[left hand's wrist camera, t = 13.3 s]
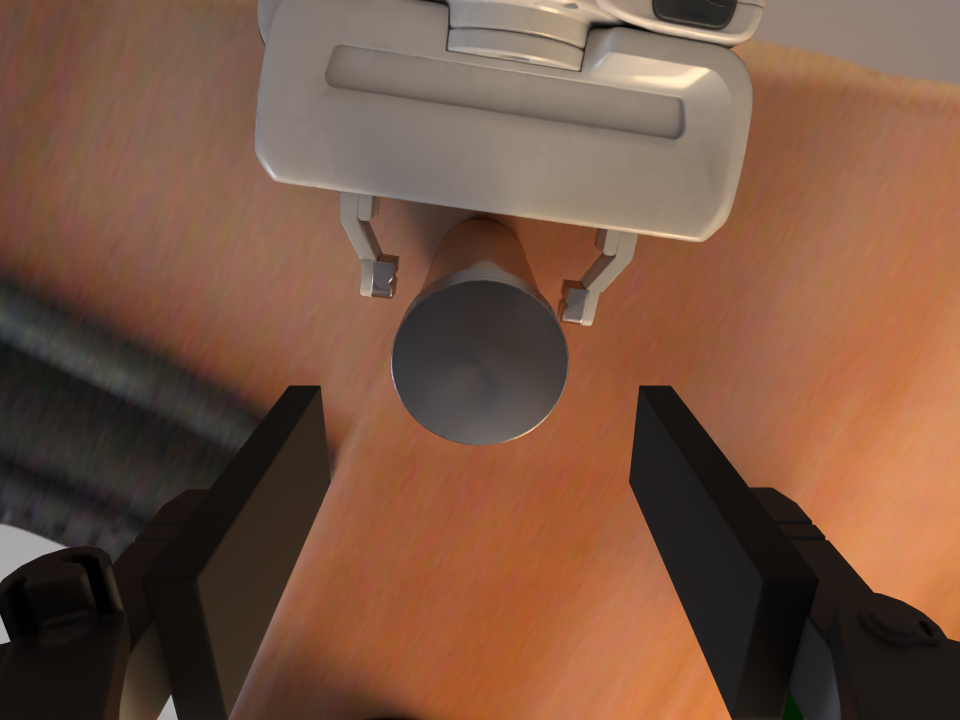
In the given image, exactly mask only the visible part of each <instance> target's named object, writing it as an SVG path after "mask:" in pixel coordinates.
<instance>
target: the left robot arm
mask: <svg viewBox="0 0 960 720" xmlns="http://www.w3.org/2000/svg"><path fill="white" fill-rule="evenodd" d="M330 483H331V478H330V469H329V459H328V450H327V441H326V432H325V423H324V413H323V404H322V395H321V386H289V387H288V388H287V389H286V391H285V392H284V393H283V394H282V396H281V397H280V398H279V400H278V401H277V402H276V404H275V405H274V406H273V407H272V409H271V410H270V411H269V413H268V414H267V415H266V417H265V418H264V419H263V420H262V422H261V423H260V424H259V426H258V427H257V428H256V429H255V431H254V432H253V433H252V435H251V436H250V437H249V439H248V440H247V441H246V442H245V444H244V445H243V446H242V448H241V449H240V450H239V452H238V453H237V454H236V455H235V457H234V458H233V459H232V461H231V462H230V463H229V465H228V466H227V467H226V468H225V470H224V471H223V472H222V474H221V475H220V476H219V478H218V479H217V480H216V481H215V483H214V484H213V485H212V487H211V488H210V489H188V490H186V491H185V492H183V493H182V494H180V495H179V496H177V497H176V498H174V499H173V500H171V501H169V502H168V503H166V504H165V505H164V506H163V507H162V508H161V509H160V510H159V511H158V513H157V514H156V515H155V516H154V517H153V518H152V520H151V521H150V522H149V523H148V527H145V528H144V529H143V530H142V531H141V532H140V534H139V535H138V536H137V537H136V538H135V542H132V543H131V544H130V545H129V546H128V548H127V549H126V550H125V551H124V552H123V553H122V554H121V556H120V557H119V558H118V559H117V560H116V561H115V563H114V564H113V565H112V562H111V559H110V555H109V554H107V553H106V552H105V551H103V550H102V549H100V548H94V547H87V546H82V547H74V548H66V549H62V550H59V551H56V552H52V553H49V554H46V555H43V556H40V557H38V558H37V559H34V560H32V561H30V562H28V563H26V564H24V565H22V566H21V567H19V568H18V569H16V570H15V571H14V572H12V573H11V574H10V575H8V576H7V577H6V578H4V579H3V580H2V581H1V583H0V615H1V618H2V620H3V623H4V626H5V628H6V631H7V633H8V636H9V639H10V641H11V642H8V643H4V644H0V720H157V718H158V717H159V715H160V713H161V711H162V710H163V708H164V706H165V704H166V702H167V701H168V699H169V697H170V695H172V699H173V703H174V706H175V710H176V714H177V718H178V720H228V719H229V716H230V714H231V712H232V709H233V707H234V705H235V702H236V700H237V698H238V696H239V693H240V691H241V689H242V686H243V684H244V682H245V679H246V677H247V675H248V672H249V670H250V668H251V666H252V663H253V661H254V659H255V656H256V654H257V652H258V649H259V647H260V645H261V642H262V640H263V638H264V636H265V633H266V631H267V629H268V626H269V624H270V622H271V619H272V617H273V615H274V612H275V610H276V608H277V605H278V603H279V601H280V599H281V596H282V594H283V592H284V589H285V587H286V585H287V582H288V580H289V578H290V575H291V573H292V571H293V569H294V566H295V564H296V562H297V559H298V557H299V555H300V552H301V550H302V548H303V545H304V543H305V541H306V539H307V536H308V534H309V532H310V529H311V527H312V525H313V522H314V520H315V518H316V515H317V513H318V511H319V509H320V506H321V504H322V502H323V499H324V497H325V495H326V492H327V490H328V488H329V485H330ZM629 483H630V485H631V488H632V490H633V492H634V495H635V497H636V499H637V502H638V504H639V506H640V509H641V511H642V513H643V515H644V518H645V520H646V522H647V525H648V527H649V529H650V532H651V534H652V536H653V539H654V541H655V543H656V545H657V548H658V550H659V552H660V555H661V557H662V559H663V562H664V564H665V566H666V569H667V571H668V573H669V575H670V578H671V580H672V582H673V585H674V587H675V589H676V592H677V594H678V596H679V599H680V601H681V603H682V606H683V608H684V610H685V612H686V615H687V617H688V619H689V622H690V624H691V626H692V629H693V631H694V633H695V636H696V638H697V640H698V642H699V645H700V647H701V649H702V652H703V654H704V656H705V659H706V661H707V663H708V666H709V668H710V670H711V672H712V675H713V677H714V679H715V682H716V684H717V686H718V689H719V691H720V693H721V696H722V698H723V700H724V702H725V705H726V707H727V709H728V712H729V714H730V716H731V719H732V720H782V718H783V714H784V710H785V706H786V703H787V699H788V695H789V692H790V694H791V696H792V698H793V699H794V701H795V703H796V705H797V707H798V708H799V710H800V712H801V714H802V715H803V717H804V720H960V642H958V641H954V640H951V639H948V638H947V637H946V636H945V634H944V633H943V631H942V630H941V628H940V627H939V626H938V625H937V624H936V623H934V622H933V621H932V620H931V619H930V618H929V617H927V616H926V615H925V614H924V613H923V612H921V611H919V610H917V609H916V608H914V607H912V606H910V605H908V604H907V603H905V602H903V601H901V600H898V599H895V598H892V597H889V596H886V595H883V594H879V593H874V592H873V591H872V590H871V589H870V588H869V586H868V585H867V584H866V583H865V582H864V581H863V580H862V578H861V577H860V576H859V575H858V574H857V573H856V571H855V570H854V569H853V568H852V567H851V566H850V565H849V563H848V562H847V561H846V560H845V559H844V558H843V556H842V555H841V554H840V553H839V552H838V551H837V550H836V548H835V547H834V546H833V545H832V544H831V543H830V541H829V540H825V536H824V534H823V533H822V532H821V531H820V530H819V529H818V528H817V526H816V525H812V521H811V519H810V518H809V517H808V516H807V515H806V514H805V513H804V511H803V510H802V509H801V508H800V507H799V506H798V504H797V503H795V502H794V501H792V500H791V499H789V498H788V497H786V496H785V495H783V494H781V493H780V492H778V491H777V490H775V489H774V488H749V487H748V485H747V484H746V483H745V481H744V480H743V479H742V478H741V476H740V475H739V474H738V472H737V471H736V470H735V468H734V467H733V466H732V465H731V463H730V462H729V461H728V459H727V458H726V457H725V455H724V454H723V453H722V452H721V450H720V449H719V448H718V446H717V445H716V444H715V442H714V441H713V440H712V439H711V437H710V436H709V435H708V433H707V432H706V431H705V429H704V428H703V427H702V426H701V424H700V423H699V422H698V420H697V419H696V418H695V417H694V415H693V414H692V413H691V411H690V410H689V409H688V407H687V406H686V405H685V404H684V402H683V401H682V400H681V398H680V397H679V396H678V394H677V393H676V392H675V391H674V389H673V388H672V387H671V386H639V395H638V404H637V413H636V422H635V432H634V441H633V450H632V459H631V469H630V478H629Z"/></svg>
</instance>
